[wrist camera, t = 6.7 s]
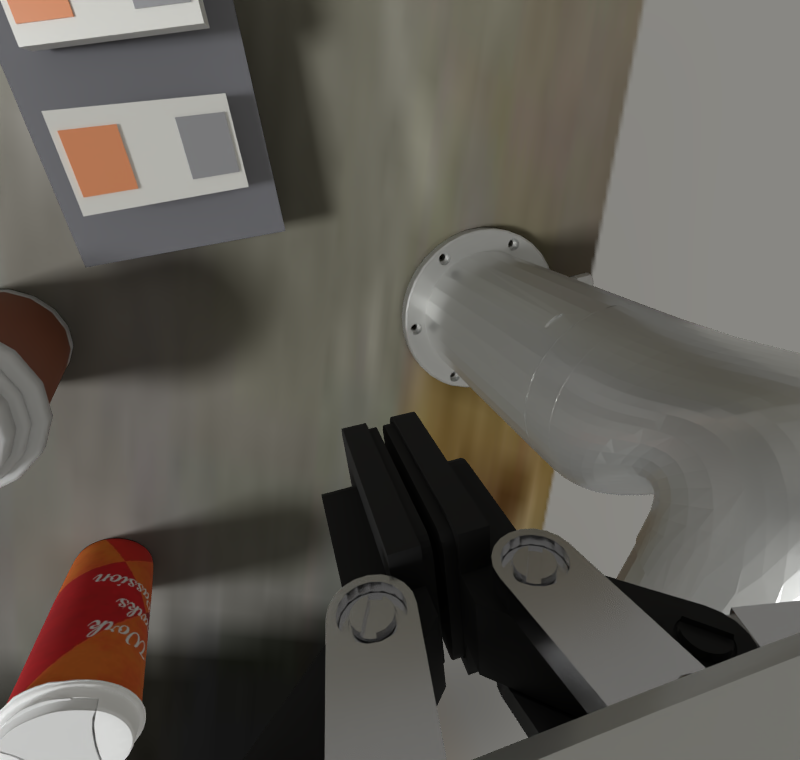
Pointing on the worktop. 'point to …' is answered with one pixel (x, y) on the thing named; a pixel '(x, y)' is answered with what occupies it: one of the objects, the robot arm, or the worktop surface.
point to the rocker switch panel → (143, 81)
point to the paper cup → (86, 663)
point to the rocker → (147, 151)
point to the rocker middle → (98, 20)
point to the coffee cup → (28, 378)
